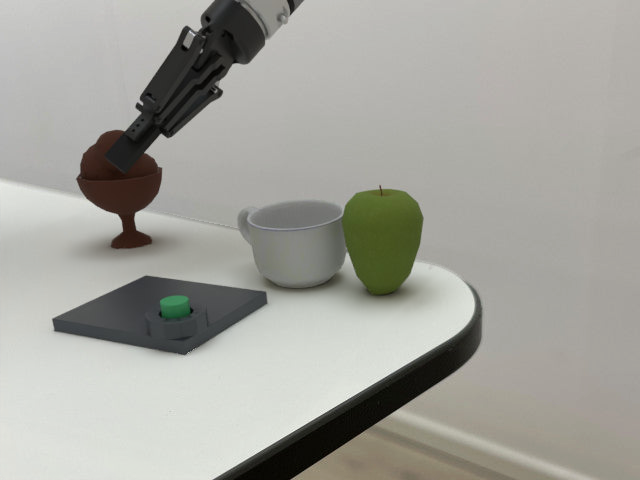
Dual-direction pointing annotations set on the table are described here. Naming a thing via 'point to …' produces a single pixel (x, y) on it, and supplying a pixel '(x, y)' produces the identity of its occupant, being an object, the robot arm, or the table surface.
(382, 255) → the apple
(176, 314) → the button
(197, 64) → the robot arm
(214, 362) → the table surface
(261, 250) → the teacup
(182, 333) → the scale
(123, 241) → the ice cream bowl
